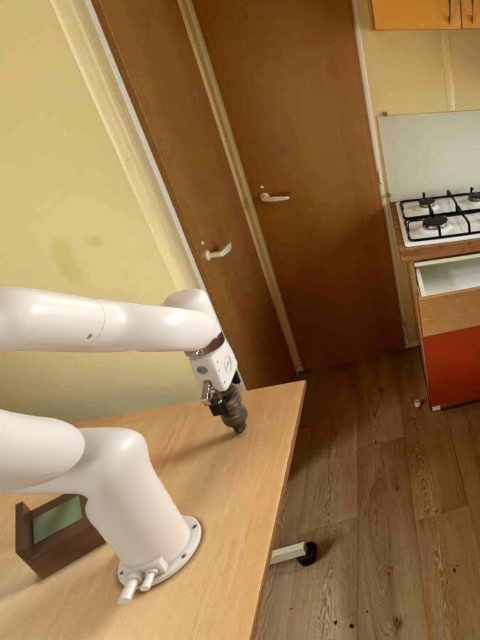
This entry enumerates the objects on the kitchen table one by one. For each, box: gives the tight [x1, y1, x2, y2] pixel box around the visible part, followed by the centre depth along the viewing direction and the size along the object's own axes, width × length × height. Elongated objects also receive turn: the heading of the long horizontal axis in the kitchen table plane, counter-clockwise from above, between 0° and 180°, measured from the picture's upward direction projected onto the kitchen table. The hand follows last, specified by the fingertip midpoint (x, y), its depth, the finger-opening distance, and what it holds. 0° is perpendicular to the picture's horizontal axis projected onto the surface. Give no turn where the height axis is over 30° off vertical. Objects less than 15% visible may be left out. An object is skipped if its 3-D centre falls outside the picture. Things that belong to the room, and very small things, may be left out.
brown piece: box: [14, 494, 107, 581], centre depth 81 cm, size 9×12×9 cm
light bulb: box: [211, 383, 249, 434], centre depth 102 cm, size 6×6×15 cm
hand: (228, 398), depth 100 cm, fingers open, 9 cm apart
